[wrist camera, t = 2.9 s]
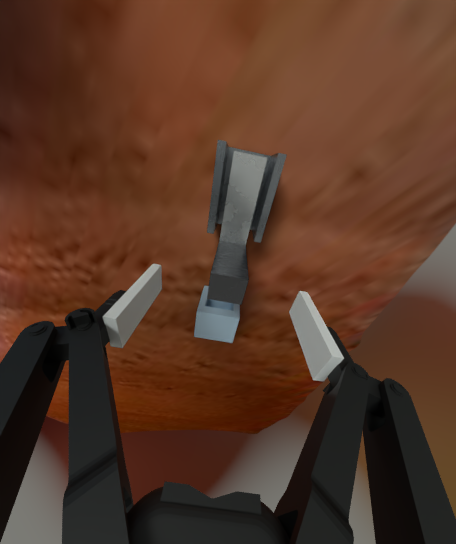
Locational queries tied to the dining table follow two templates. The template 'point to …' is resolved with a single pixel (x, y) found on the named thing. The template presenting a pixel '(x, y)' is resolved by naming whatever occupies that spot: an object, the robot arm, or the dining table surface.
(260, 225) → the open u-shaped channel
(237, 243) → the gray bent bar
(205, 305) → the socket
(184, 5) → the dining table surface
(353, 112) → the dining table surface
